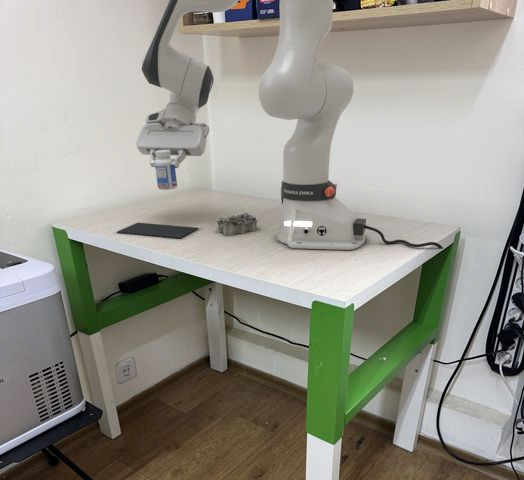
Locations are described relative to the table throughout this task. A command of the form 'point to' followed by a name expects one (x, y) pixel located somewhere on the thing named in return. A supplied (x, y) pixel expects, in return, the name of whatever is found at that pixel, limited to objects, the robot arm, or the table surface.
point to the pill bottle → (165, 170)
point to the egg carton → (236, 224)
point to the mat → (158, 230)
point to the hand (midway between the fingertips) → (163, 166)
